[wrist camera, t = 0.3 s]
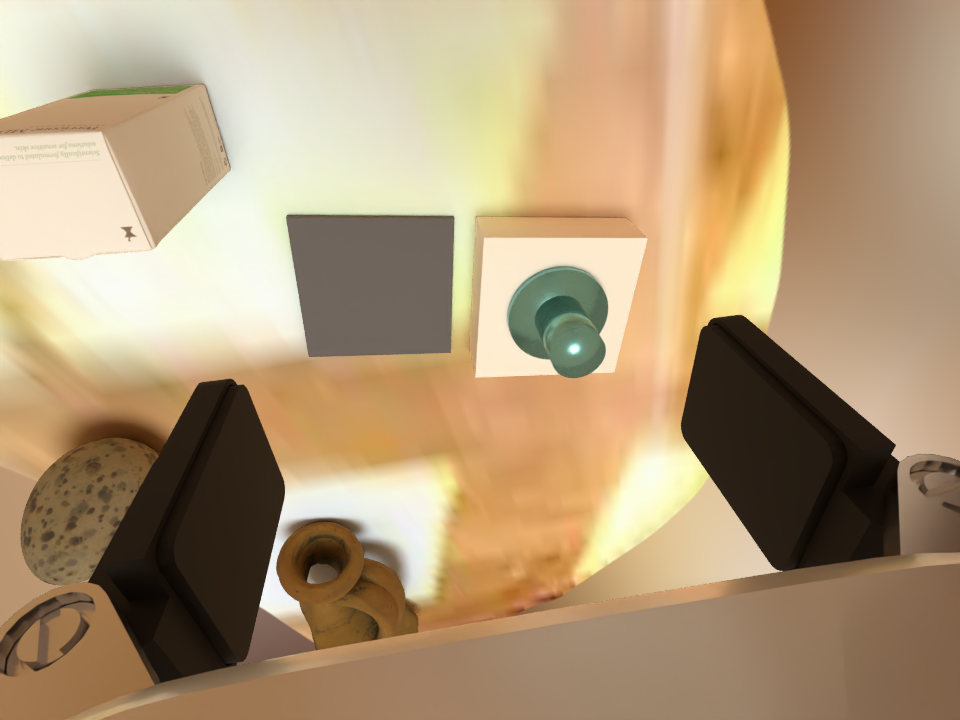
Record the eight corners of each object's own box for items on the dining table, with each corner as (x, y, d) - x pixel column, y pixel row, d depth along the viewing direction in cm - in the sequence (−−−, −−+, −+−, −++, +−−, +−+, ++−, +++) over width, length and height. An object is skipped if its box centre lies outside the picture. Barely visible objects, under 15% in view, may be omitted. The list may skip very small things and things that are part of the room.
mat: (287, 215, 43) (286, 217, 42) (453, 216, 45) (454, 218, 44) (309, 353, 51) (308, 357, 50) (450, 349, 53) (450, 352, 52)
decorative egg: (69, 405, 50) (-35, 532, 38) (189, 424, 54) (129, 547, 41) (74, 479, 56) (-15, 612, 44) (184, 492, 59) (129, 619, 47)
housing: (476, 216, 45) (483, 237, 41) (626, 217, 47) (647, 238, 43) (469, 348, 53) (475, 377, 49) (597, 345, 55) (613, 372, 51)
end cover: (502, 244, 47) (529, 306, 37) (596, 244, 48) (645, 304, 38) (495, 329, 52) (517, 402, 42) (580, 327, 53) (620, 397, 44)
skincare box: (207, 83, 37) (109, 124, 24) (235, 176, 41) (162, 254, 28) (83, 88, 36) (-85, 134, 23) (123, 184, 40) (-3, 267, 27)
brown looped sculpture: (271, 672, 70) (244, 611, 55) (312, 581, 80) (298, 507, 65) (400, 709, 69) (409, 656, 54) (426, 612, 79) (439, 545, 64)
